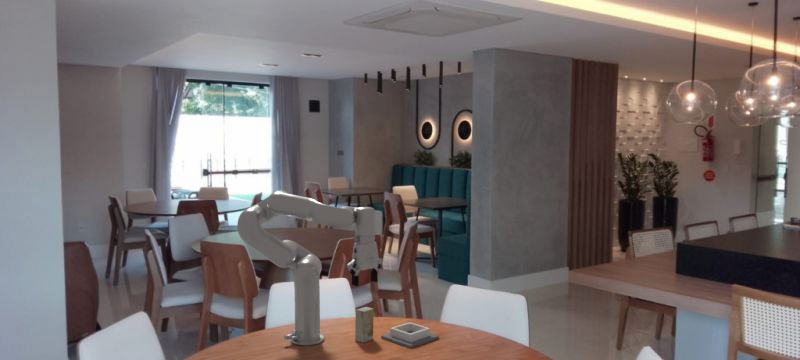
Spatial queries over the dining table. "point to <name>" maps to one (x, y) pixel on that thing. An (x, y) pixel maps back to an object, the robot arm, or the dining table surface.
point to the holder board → (410, 335)
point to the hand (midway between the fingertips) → (364, 283)
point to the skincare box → (364, 324)
